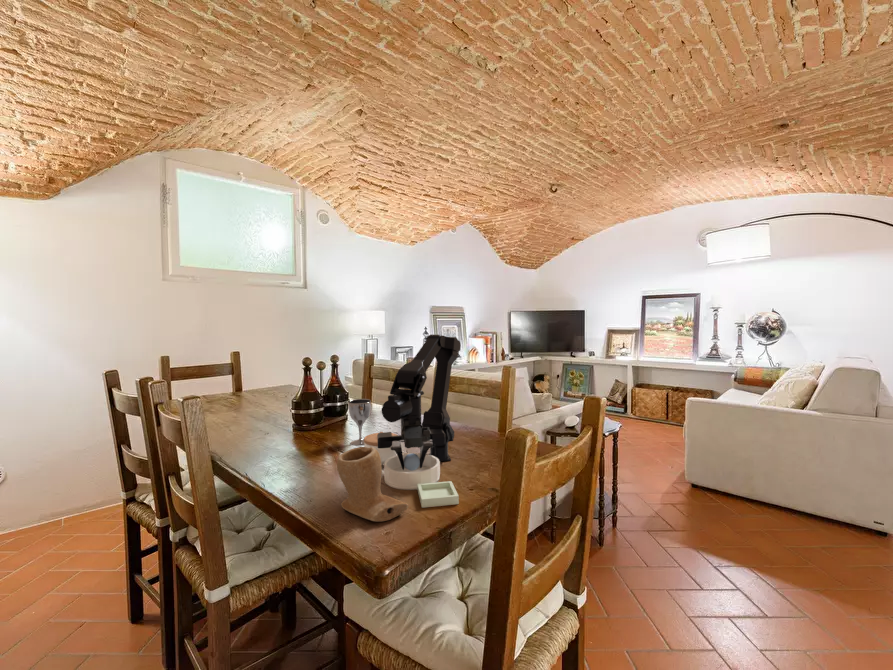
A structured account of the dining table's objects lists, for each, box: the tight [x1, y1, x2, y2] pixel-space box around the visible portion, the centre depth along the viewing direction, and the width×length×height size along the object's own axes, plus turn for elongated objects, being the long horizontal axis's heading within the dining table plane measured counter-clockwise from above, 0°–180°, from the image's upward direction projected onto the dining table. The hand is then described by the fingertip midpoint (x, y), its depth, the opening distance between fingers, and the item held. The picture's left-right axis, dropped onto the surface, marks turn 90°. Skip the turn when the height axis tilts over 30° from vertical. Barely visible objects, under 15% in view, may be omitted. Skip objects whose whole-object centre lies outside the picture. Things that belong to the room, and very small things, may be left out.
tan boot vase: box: [336, 446, 409, 522], centre depth 96 cm, size 15×12×15 cm
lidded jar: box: [363, 431, 398, 466], centre depth 129 cm, size 11×11×9 cm
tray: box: [417, 480, 460, 509], centre depth 104 cm, size 9×9×2 cm
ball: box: [404, 452, 420, 471], centre depth 116 cm, size 5×5×5 cm
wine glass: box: [347, 398, 372, 447], centre depth 149 cm, size 8×8×15 cm
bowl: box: [383, 452, 441, 491], centre depth 116 cm, size 15×15×4 cm
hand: (411, 468), depth 116 cm, fingers closed on ball, 4 cm apart
